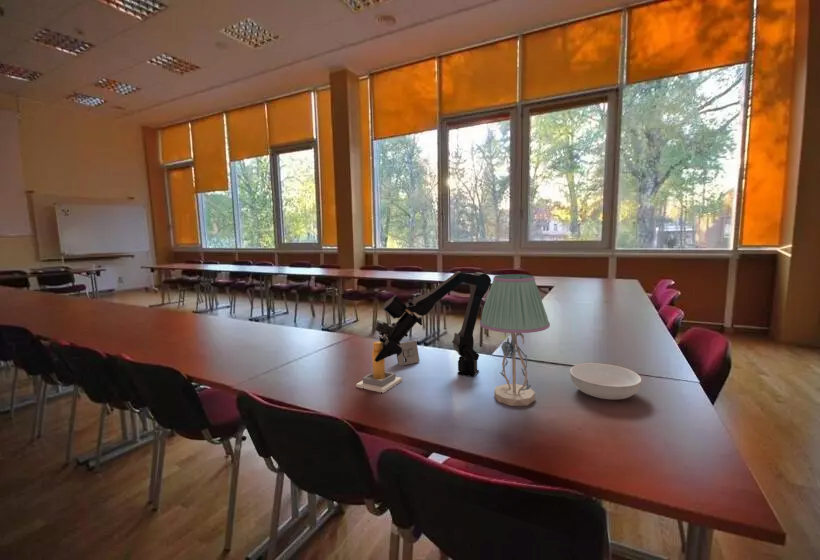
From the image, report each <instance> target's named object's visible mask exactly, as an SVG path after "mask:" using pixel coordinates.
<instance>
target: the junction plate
mask: <svg viewBox="0 0 820 560" xmlns="http://www.w3.org/2000/svg"><path fill="white" fill-rule="evenodd" d="M396 375H397V374H396V373H395V372H388V371H385V378H384V379H374V378H373V371H372V372H370V373H369V374H367V375H365V376H363V377H362V380H361V381H359V382H358V383H356V388H358V389H359V388H360V389H363V388H364V389H365V390H369V391H372V392H377V393H381V392H382V394H385V393H386V392H387V390H388V391H389V390H390V388H391V389H392V388H393V386H394V387H395V386H396V384H397V385H398V384H400V383H401V382H403V378H402V377H399V376H398V377H397V376H396ZM364 389H363V390H364Z"/></svg>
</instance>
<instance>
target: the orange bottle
mask: <svg viewBox="0 0 820 560" xmlns="http://www.w3.org/2000/svg"><path fill="white" fill-rule="evenodd" d="M372 347H373V348H372V350H371V357H372V359H371V360H372V362H371V363H372V372H373V378H374V379H384V378H385V372H386V364H385V358H384V359H382V360H380V361H378V362H376V361H375V358H376V357H377V355H378V354H379V352H380V350H381V349H382V342H380V341H374V342H372Z"/></svg>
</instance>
